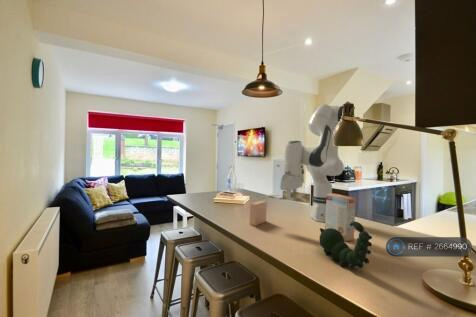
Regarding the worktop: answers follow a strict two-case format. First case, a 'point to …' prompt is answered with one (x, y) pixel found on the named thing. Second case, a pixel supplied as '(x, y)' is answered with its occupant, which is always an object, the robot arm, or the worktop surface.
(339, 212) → the cracker box
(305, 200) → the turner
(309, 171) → the robot arm
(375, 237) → the worktop surface
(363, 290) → the worktop surface
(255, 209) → the tile
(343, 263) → the toy figurine
